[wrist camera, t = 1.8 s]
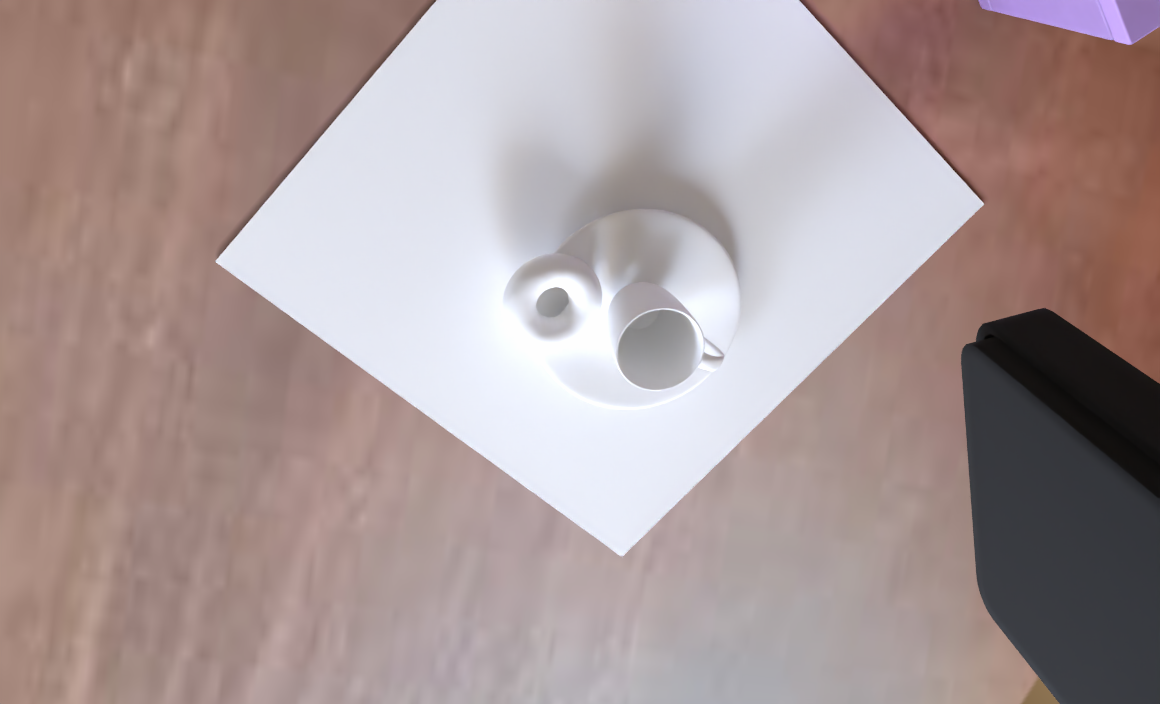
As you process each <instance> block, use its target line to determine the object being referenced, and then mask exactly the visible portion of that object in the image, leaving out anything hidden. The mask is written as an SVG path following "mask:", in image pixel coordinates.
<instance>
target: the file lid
mask: <svg viewBox="0 0 1160 704" xmlns="http://www.w3.org/2000/svg"><path fill="white" fill-rule="evenodd" d="M1099 2H1100V4H1101V7H1102V10H1103V12H1104V15H1105V17H1106V20H1107V22H1108V25H1109V27H1110V30H1111V32H1112V35H1113V38H1114V40H1115V41H1116V42H1120V43H1124V44H1128V45H1131V44H1133V43H1135V42H1136V41H1138V40H1140V39H1141V38H1143V37H1144V36H1146V35H1147V34H1149V33H1150V32H1152V31H1153V30H1155V29H1156V28H1158V27H1159V26H1160V0H1099Z"/></svg>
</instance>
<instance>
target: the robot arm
mask: <svg viewBox="0 0 1160 704" xmlns="http://www.w3.org/2000/svg"><path fill="white" fill-rule="evenodd" d="M961 366H962V380H963V394H964V408H965V422H966V436H967V450H968V464H969V477H970V491H971V505H972V519H973V533H974V547H975V561H976V575H977V582H978V587H979V591H980V594H981V597H982V599H983V602H984V604H985V606H986V608H987V610H988V612H989V614H990V615H991V617H992V618H993V620H994V621H995V622H996V624H997V625H998V626H999V627H1000V629H1001V630H1002V631H1003V632H1004V634H1005V635H1006V636H1007V637H1008V639H1009V640H1010V641H1011V643H1012V644H1013V645H1014V646H1015V648H1016V649H1017V650H1018V651H1019V653H1020V654H1021V655H1022V656H1023V658H1024V659H1025V660H1026V662H1027V663H1028V664H1029V665H1030V667H1031V668H1032V669H1033V670H1034V672H1035V673H1036V674H1037V675H1038V677H1039V678H1040V679H1041V681H1042V682H1043V683H1044V684H1045V686H1046V687H1047V688H1048V689H1049V691H1050V692H1051V693H1052V694H1053V696H1054V697H1055V698H1056V700H1057V701H1058V702H1059V703H1060V704H1160V384H1159V383H1157V382H1156V381H1154V380H1153V379H1151V378H1150V377H1149V376H1147V375H1146V374H1144V373H1143V372H1141V371H1140V370H1138V369H1137V368H1135V367H1134V366H1132V365H1131V364H1129V363H1128V362H1126V361H1125V360H1123V359H1122V358H1120V357H1119V356H1118V355H1116V354H1115V353H1113V352H1112V351H1110V350H1109V349H1107V348H1106V347H1104V346H1103V345H1101V344H1100V343H1098V342H1097V341H1095V340H1094V339H1092V338H1091V337H1089V336H1088V335H1087V334H1085V333H1084V332H1082V331H1081V330H1079V329H1078V328H1076V327H1075V326H1073V325H1072V324H1070V323H1069V322H1067V321H1066V320H1064V319H1063V318H1061V317H1060V316H1058V315H1057V314H1056V313H1054V312H1053V311H1050V310H1048V309H1046V308H1042V309H1037V310H1033V311H1030V312H1026V313H1022V314H1018V315H1015V316H1011V317H1007V318H1003V319H999V320H996V321H992V322H988V323H984V324H982V326H981V327H980V328H979V330H978V333H977V337H976V342H973V343H969V344H966V345H965V346H964V348H963V350H962V354H961Z"/></svg>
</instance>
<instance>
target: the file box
mask: <svg viewBox="0 0 1160 704" xmlns="http://www.w3.org/2000/svg"><path fill="white" fill-rule="evenodd" d="M978 1H979V3H980V5H981V7H982V8H983V9H987V10H991V11H995V12H999V13H1003V14H1008V15H1012V16H1016V17H1020V18H1024V19H1028V20H1032V21H1036V22H1040V23H1044V24H1048V25H1052V26H1056V27H1060V28H1064V29H1068V30H1072V31H1077V32H1081V33H1085V34H1089V35H1093V36H1097V37H1101V38H1105V39H1109V40H1114V38H1113V35H1112V32H1111V30H1110V27H1109V25H1108V22H1107V20H1106V17H1105V15H1104V12H1103V10H1102V7H1101V4H1100V2H1099V0H978Z"/></svg>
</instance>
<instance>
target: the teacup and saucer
mask: <svg viewBox="0 0 1160 704" xmlns="http://www.w3.org/2000/svg"><path fill="white" fill-rule="evenodd" d="M618 288H621V289H620V290H618V291H616V292H613V291H614V290H616V289H618ZM611 297H612V299H611V300H608V301H606V300H607V299H609V298H611ZM501 312H502V318H503V321H504V324H505V326H506V328H507V329H508V331H509V332H510V334H511V335H512V336H513V337H514V338H515V339H516V340H517V341H518V342H520V343H521V344H523V345H524V346H526V347H528V348H531V349H533V350H535V351H536V354H537V356H538V358H539V360H540V362H541V363H542V365H543V367H544V368H545V370H546V371H547V372H548V374H549V375H550V376H551V377H552V378H553V379H554V380H555V381H556V382H557V383H558V384H559V385H560V386H561V387H562V388H563V389H565V390H566V391H567V392H569V393H570V394H572V395H573V396H575V397H577V398H578V399H580V400H582V401H585V402H587V403H589V404H592V405H595V406H599V407H602V408H607V409H614V410H640V409H647V408H652V407H656V406H660V405H663V404H666V403H668V402H671V401H673V400H675V399H678V398H680V397H681V396H683V395H685V394H687V393H688V392H690V391H691V390H693V389H694V388H696V387H697V386H698V385H700V384H701V383H702V382H703V381H704V380H706V379H707V378H708V377H709V376H710V375H711V374H712V373H713V372H715V371H717V370H718V369H719V368H720V367H721V366H722V364H723V363H724V360H725V356H726V355H727V353H728V351H729V349H730V348H731V346H732V343H733V341H734V339H735V336H736V334H737V331H738V327H739V324H740V319H741V313H742V289H741V283H740V278H739V275H738V272H737V269H736V266H735V264H734V262H733V260H732V258H731V256H730V254H729V253H728V251H727V250H726V248H725V247H724V245H723V244H722V243H721V242H720V241H719V240H718V238H717V237H716V236H715V235H714V234H712V233H711V232H710V231H709V230H708V229H707V228H705V227H704V226H702V225H701V224H699V223H698V222H696V221H694V220H693V219H691V218H689V217H686V216H684V215H682V214H679V213H676V212H672V211H668V210H663V209H656V208H632V209H625V210H620V211H616V212H612V213H609V214H606V215H603V216H601V217H598V218H596V219H594V220H592V221H590V222H588V223H586V224H585V225H583V226H582V227H580V228H579V229H577V230H576V231H574V232H573V233H572V234H571V235H569V236H568V237H567V238H566V239H565V240H564V241H563V242H562V243H561V244H560V245H559V246H558V247H557V248H556V249H555V250H554V251H553V252H550V253H544V254H541V255H538V256H535V257H533V258H531V259H529V260H528V261H526V262H525V263H523V264H522V265H521V266H520V267H519V268H518V269H517V270H516V271H515V272H514V273H513V274H512V275H511V277H510V278H509V280H508V282H507V284H506V286H505V288H504V291H503V296H502V303H501Z"/></svg>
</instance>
